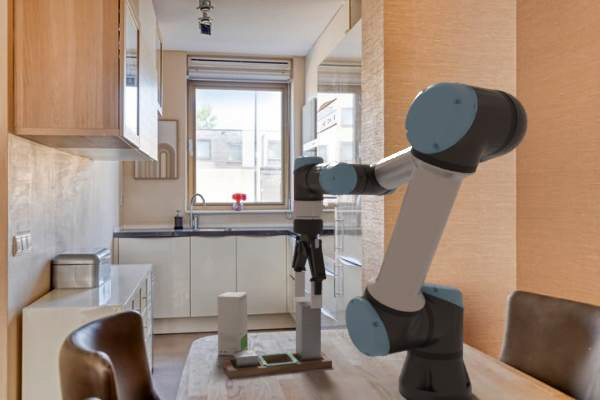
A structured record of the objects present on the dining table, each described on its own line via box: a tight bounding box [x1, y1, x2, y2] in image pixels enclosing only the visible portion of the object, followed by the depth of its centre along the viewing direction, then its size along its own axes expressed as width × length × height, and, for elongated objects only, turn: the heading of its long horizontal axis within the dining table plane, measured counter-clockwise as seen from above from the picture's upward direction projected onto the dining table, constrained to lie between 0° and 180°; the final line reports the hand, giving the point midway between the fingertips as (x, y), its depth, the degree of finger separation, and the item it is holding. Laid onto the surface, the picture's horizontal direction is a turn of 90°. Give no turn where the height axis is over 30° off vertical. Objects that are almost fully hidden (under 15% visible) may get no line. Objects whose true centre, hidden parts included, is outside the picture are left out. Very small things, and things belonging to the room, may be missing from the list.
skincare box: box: [217, 291, 249, 357], centre depth 135 cm, size 8×7×16 cm
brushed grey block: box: [295, 300, 322, 362], centre depth 126 cm, size 5×5×15 cm
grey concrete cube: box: [233, 349, 259, 369], centre depth 121 cm, size 5×5×4 cm
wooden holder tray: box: [222, 351, 333, 379], centre depth 124 cm, size 9×25×2 cm, turn 107°
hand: (307, 302), depth 126 cm, fingers open, 13 cm apart
